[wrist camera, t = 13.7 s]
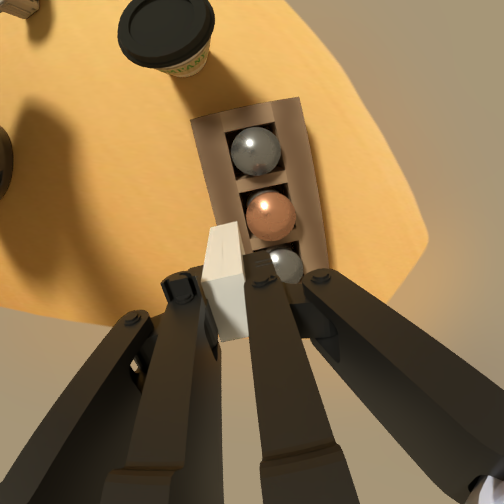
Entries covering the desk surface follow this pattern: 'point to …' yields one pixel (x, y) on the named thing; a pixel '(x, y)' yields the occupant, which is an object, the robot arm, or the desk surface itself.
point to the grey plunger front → (255, 151)
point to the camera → (19, 7)
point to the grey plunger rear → (285, 262)
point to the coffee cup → (167, 34)
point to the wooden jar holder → (265, 175)
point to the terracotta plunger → (270, 214)
